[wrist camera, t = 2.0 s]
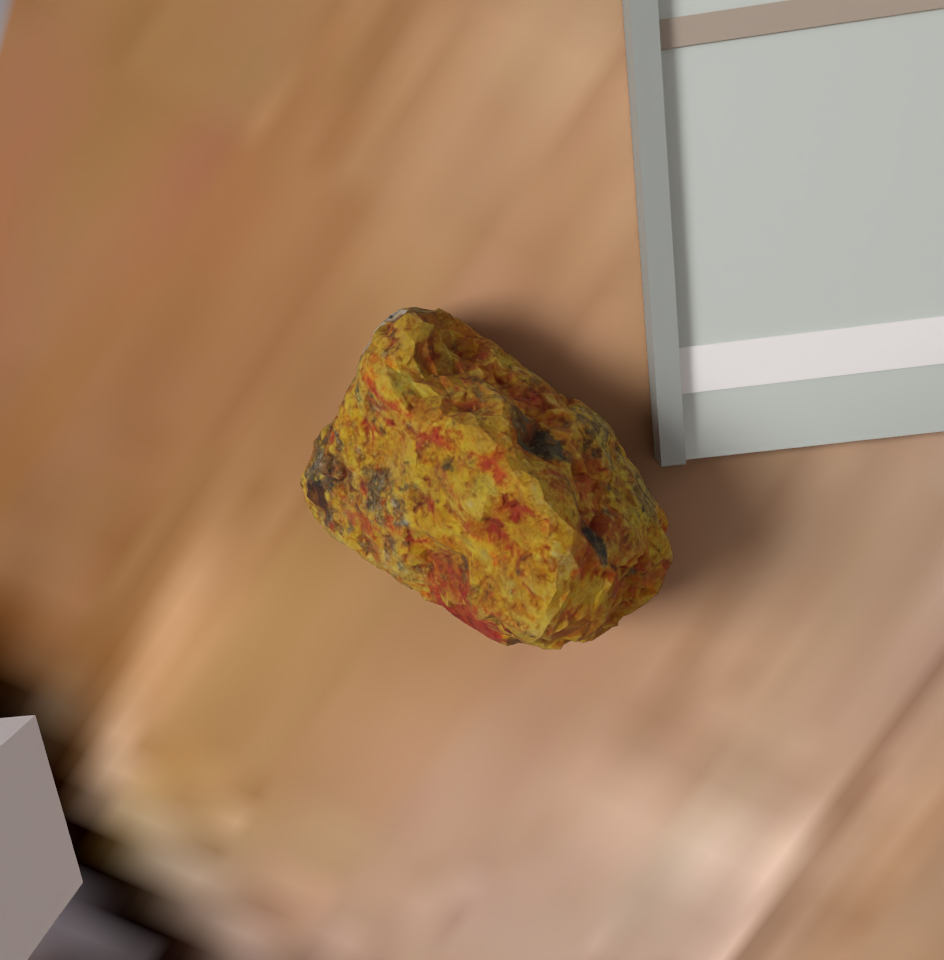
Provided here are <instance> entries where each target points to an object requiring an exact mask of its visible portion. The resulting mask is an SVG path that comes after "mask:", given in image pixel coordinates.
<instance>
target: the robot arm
mask: <svg viewBox="0 0 944 960" xmlns="http://www.w3.org/2000/svg"><path fill="white" fill-rule="evenodd" d="M82 883H83V881H82V877H81V874H80V870H79V867H78V863H77V860H76V856H75V853H74V849H73V846H72V842H71V839H70V835H69V832H68V828H67V825H66V821H65V818H64V814H63V811H62V807H61V804H60V800H59V797H58V794H57V790H56V787H55V783H54V780H53V776H52V773H51V769H50V766H49V762H48V759H47V755H46V752H45V748H44V745H43V741H42V738H41V734H40V731H39V727H38V724H37V720H36V717H35V715H31V716H20V717H9V718H0V960H28V958H29V957H30V955H31V954H32V953H33V951H34V950H35V948H36V947H37V946H38V944H39V943H40V941H41V940H42V939H43V937H44V936H45V934H46V933H47V932H48V930H49V929H50V928H51V926H52V925H53V923H54V922H55V921H56V919H57V918H58V916H59V915H60V914H61V912H62V911H63V909H64V908H65V907H66V905H67V904H68V902H69V901H70V900H71V898H72V897H73V895H74V894H75V893H76V891H77V890H78V888H79V887H80V886H81V884H82Z"/></svg>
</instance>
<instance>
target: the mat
mask: <svg viewBox="0 0 944 960" xmlns="http://www.w3.org/2000/svg"><path fill="white" fill-rule="evenodd" d="M622 2H623V16H624V30H625V44H626V58H627V72H628V87H629V101H630V115H631V129H632V143H633V157H634V171H635V186H636V200H637V214H638V228H639V242H640V256H641V270H642V285H643V299H644V313H645V327H646V341H647V355H648V369H649V384H650V398H651V412H652V426H653V440H654V454H655V460H656V461H657V462H658V463H659V464H660V465H661V467H664V466H673V465H682V464H686V460H688V459H697V458H707V457H716V456H725V455H734V454H743V453H752V452H761V451H770V450H779V449H788V448H797V447H806V446H815V445H824V444H833V443H842V442H851V441H860V440H869V439H878V438H887V437H896V436H905V435H914V434H923V433H932V432H941V431H944V0H622Z"/></svg>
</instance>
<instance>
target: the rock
mask: <svg viewBox="0 0 944 960" xmlns="http://www.w3.org/2000/svg"><path fill="white" fill-rule="evenodd" d="M300 485H301V487H302V489H303V491H304V495H305V501H306V503H307V504H308V506H309V508H310V510H311V512H312V514H313V515H314V517H315V519H316V520H317V521H318V522H319V523H320V524H321V525H322V526H323V527H324V529H325V530H326V531H327V532H328V534H329V535H330V536H331V537H333V538H334V539H336V540H337V541H339V542H341V543H343V544H345V545H347V546H348V547H349V548H351V549H353V550H355V551H356V552H358V553H359V554H360V556H361V557H362V558H363V559H365V560H367V561H368V562H370V563H372V564H374V565H375V566H376V567H377V568H379V569H383V570H385V571H386V572H388V573H389V574H390V575H392V576H393V577H394V578H395V579H396V580H397V581H398V582H400V583H401V584H403V585H405V586H407V587H409V588H410V589H415V590H417V591H418V592H420V594H421V596H422V598H423V599H424V600H426V601H430V602H433V603H436V604H439V605H442V606H443V607H445V608H446V609H447V610H448V611H449V612H451V613H452V614H453V615H454V616H455V617H457V618H458V619H460V620H461V621H463V622H464V623H466V624H467V625H469V626H471V627H472V628H474V629H476V630H478V631H479V632H481V633H482V634H484V635H485V636H487V637H488V638H490V639H492V640H494V641H497V642H499V643H501V644H503V645H506V646H509V645H513V644H516V643H524V644H529V645H534V646H538V647H540V648H542V649H561V648H562V646H563V644H565V643H567V642H569V641H574V642H576V641H579V642H583V643H584V642H587V641H592V640H594V639H595V638H597V637H599V636H600V635H602V634H603V633H605V632H606V631H608V630H609V629H610V628H612V627H615V626H618V621H619V620H620V619H621V618H622V617H623V616H625V615H627V614H630V613H632V612H634V611H635V610H637V609H638V608H640V607H641V606H643V605H645V604H646V603H647V602H648V601H650V600H651V599H652V598H653V597H654V596H656V594H658V592H659V590H660V588H661V587H662V584H663V581H664V578H665V574H666V571H667V569H668V568H669V566H670V565H671V563H672V559H673V553H672V549H671V545H670V542H669V539H668V538H667V536H666V534H665V533H666V532H667V529H668V526H669V523H668V520H667V518H666V515H665V512H664V510H663V509H662V508H661V507H660V506H659V504H658V503H657V502H656V500H655V499H654V497H653V496H652V494H651V493H650V491H649V490H648V488H647V487H646V485H645V483H644V481H643V479H642V476H641V474H640V472H639V470H638V469H637V468H636V467H635V466H634V464H633V463H632V462H631V461H630V460H629V459H628V457H627V455H626V452H625V450H624V448H623V447H622V446H621V445H620V444H619V443H618V440H617V438H616V435H615V433H614V430H613V429H612V428H611V427H610V425H609V424H608V423H607V422H606V421H605V419H604V418H603V417H602V416H601V415H600V414H599V413H598V412H597V411H594V410H592V409H590V408H589V407H588V406H586V405H585V404H584V403H583V402H582V401H580V400H577V399H575V398H572V397H571V398H568V399H567V398H566V397H565V395H563V394H561V393H559V392H557V391H555V390H554V389H553V388H552V387H551V386H550V385H549V384H548V383H547V382H546V381H545V380H544V379H542V378H541V377H540V376H539V375H538V374H536V373H534V372H532V371H530V370H529V369H527V368H525V367H523V366H522V365H521V364H520V363H519V362H518V360H517V359H516V358H515V357H513V356H511V355H510V354H507V353H506V352H505V351H504V350H503V349H502V348H501V347H500V346H499V345H497V344H496V343H494V342H493V341H492V340H490V339H488V338H485V337H482V336H480V335H479V334H478V333H477V332H476V331H475V330H473V329H472V328H471V327H470V326H468V325H467V324H465V323H464V322H462V321H461V320H459V319H454V318H453V317H452V316H451V314H449V313H447V312H445V311H443V310H441V309H439V308H438V309H436V310H435V311H434V310H427V309H421V308H417V307H411V308H402V309H400V310H398V311H397V312H395V313H393V314H391V315H390V316H389V317H388V318H387V319H386V320H385V321H384V322H382V323H381V324H380V325H379V326H378V327H377V328H376V330H375V331H374V332H373V337H372V339H371V341H370V342H369V344H368V345H367V347H366V348H365V350H364V351H363V353H362V355H361V357H360V360H359V363H358V365H357V374H356V376H355V378H354V379H353V381H352V383H351V384H350V386H349V388H348V390H347V391H346V394H345V396H344V399H343V401H342V404H341V405H340V406H339V413H338V415H337V416H336V417H335V419H334V421H333V422H332V423H331V424H329V425H328V426H326V427H324V428H323V429H322V430H321V432H320V434H319V436H318V437H317V438H316V439H315V440H314V449H313V452H312V455H311V458H310V460H309V463H308V465H307V467H306V468H305V470H304V472H303V474H302V477H301V482H300Z"/></svg>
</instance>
